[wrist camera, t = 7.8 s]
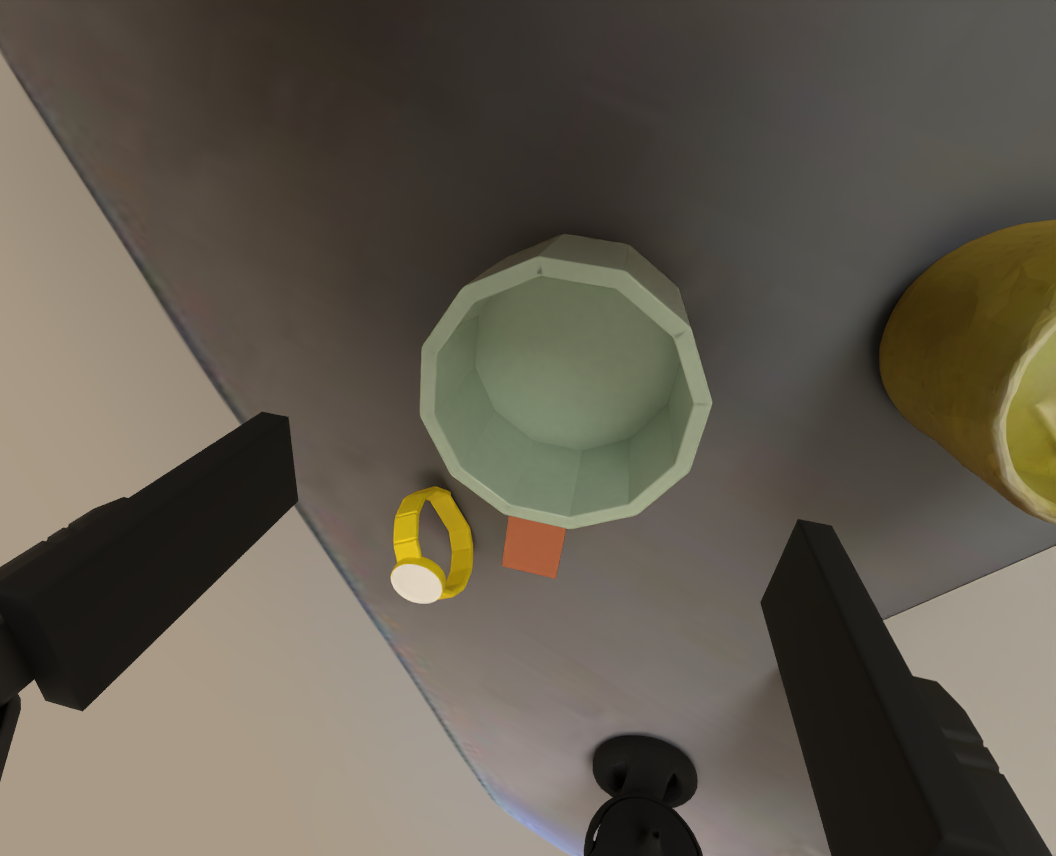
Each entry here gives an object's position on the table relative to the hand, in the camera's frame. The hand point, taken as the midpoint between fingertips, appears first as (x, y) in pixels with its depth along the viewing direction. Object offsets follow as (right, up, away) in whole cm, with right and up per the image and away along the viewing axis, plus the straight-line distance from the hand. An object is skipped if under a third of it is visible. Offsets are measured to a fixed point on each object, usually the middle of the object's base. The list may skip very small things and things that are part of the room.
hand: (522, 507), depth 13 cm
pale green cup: (+2, +4, +11) cm, 12 cm away
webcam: (+9, -23, +25) cm, 35 cm away
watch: (-4, -3, +18) cm, 19 cm away
